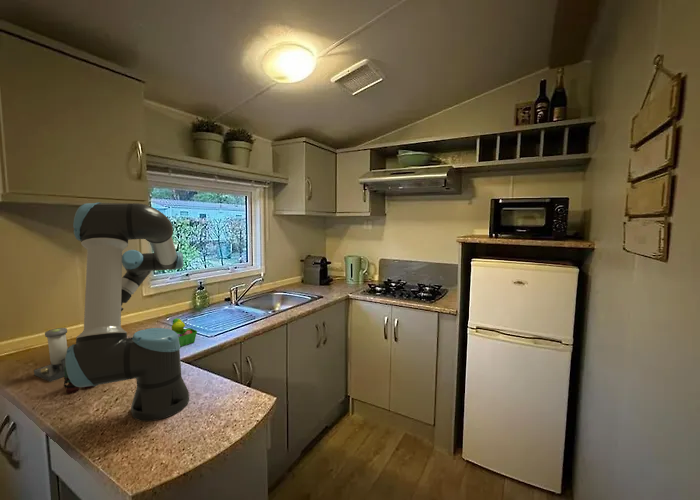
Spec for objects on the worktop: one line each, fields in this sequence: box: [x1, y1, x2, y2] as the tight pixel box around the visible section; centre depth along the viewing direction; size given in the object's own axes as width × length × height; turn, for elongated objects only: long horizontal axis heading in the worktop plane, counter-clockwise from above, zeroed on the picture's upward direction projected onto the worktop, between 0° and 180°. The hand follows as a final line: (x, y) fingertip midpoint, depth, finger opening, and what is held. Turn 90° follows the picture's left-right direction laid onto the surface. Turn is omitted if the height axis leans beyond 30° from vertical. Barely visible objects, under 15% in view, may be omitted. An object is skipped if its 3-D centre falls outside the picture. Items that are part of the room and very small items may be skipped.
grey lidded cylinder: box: [44, 327, 69, 365], centre depth 119 cm, size 6×6×12 cm
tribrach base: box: [33, 359, 66, 383], centre depth 120 cm, size 11×11×6 cm
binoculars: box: [63, 365, 95, 395], centre depth 109 cm, size 9×11×10 cm
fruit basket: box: [171, 317, 198, 347], centre depth 146 cm, size 11×9×11 cm
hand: (82, 342), depth 126 cm, fingers closed
